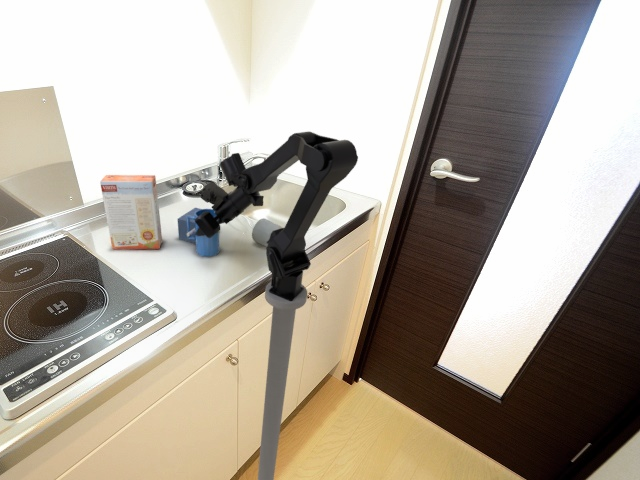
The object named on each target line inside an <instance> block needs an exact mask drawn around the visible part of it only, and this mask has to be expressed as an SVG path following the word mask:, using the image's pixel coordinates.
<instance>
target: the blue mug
mask: <svg viewBox="0 0 640 480" xmlns="http://www.w3.org/2000/svg"><path fill="white" fill-rule="evenodd" d="M200 209H201V210H198V211H196V212H195V214H194V216H195V217H193V216H189V215H187V216H186V218H187V233H188V232H190V219H192V220H195V219H196V218H197V217H198V216H199V215H201V214H202V213H204V212H205V211H207V212H210V213H211V214H212V216H213V217H215V216H217V215H216V214H215V213H214V212H215V211H214V210H213V209H212V208H200ZM218 220H219V219H218ZM218 220H217V221H218ZM198 228H199V226H198V225H197V224H196V223H195V233H196V231H197V229H198ZM188 239H192V240H196V244H195V251H196V254H197V255H198V256H200V257H207V258H209V257H214V256H217V255H218V254H219V253H220V247H221V246H220V231H219V232H217V233H216V234H215V235H213V236H212V237H211V238H207V236H206V235H205V236H197V235H196V234H195V237H192V236H191V235H190V236H188Z"/></svg>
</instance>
